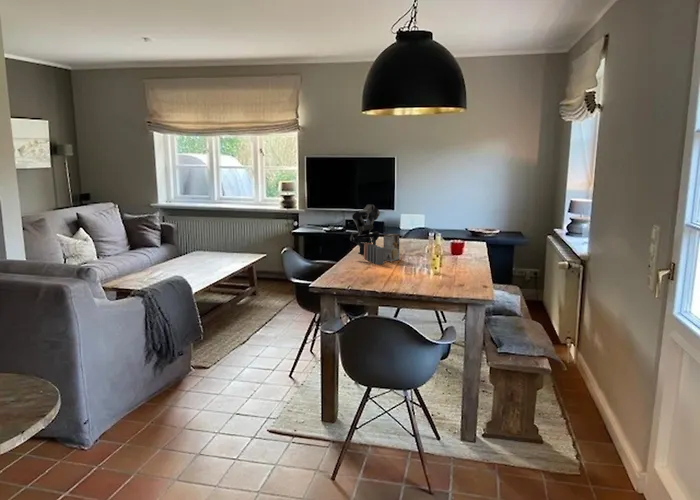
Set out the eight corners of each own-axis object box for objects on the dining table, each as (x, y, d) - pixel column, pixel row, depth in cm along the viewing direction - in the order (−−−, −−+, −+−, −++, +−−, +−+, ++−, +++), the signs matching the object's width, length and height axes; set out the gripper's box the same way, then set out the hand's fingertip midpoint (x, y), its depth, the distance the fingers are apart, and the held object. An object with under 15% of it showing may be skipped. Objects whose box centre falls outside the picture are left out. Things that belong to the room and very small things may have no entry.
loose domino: (363, 258, 342) (364, 243, 340) (370, 258, 344) (370, 243, 342) (365, 259, 340) (365, 243, 339) (371, 258, 342) (371, 243, 340)
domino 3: (372, 262, 330) (372, 246, 328) (379, 262, 331) (379, 246, 330) (373, 263, 328) (373, 247, 326) (380, 262, 330) (380, 246, 328)
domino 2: (369, 261, 334) (369, 245, 332) (376, 261, 335) (376, 245, 334) (370, 262, 332) (370, 246, 330) (377, 261, 334) (377, 245, 332)
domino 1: (366, 260, 338) (366, 244, 336) (373, 259, 340) (373, 244, 338) (367, 260, 336) (367, 244, 335) (374, 260, 338) (374, 244, 336)
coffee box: (391, 258, 344) (391, 233, 341) (399, 259, 340) (399, 234, 338) (383, 260, 337) (383, 235, 334) (391, 261, 333) (391, 236, 330)
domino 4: (375, 264, 326) (375, 247, 324) (382, 263, 327) (382, 247, 325) (376, 264, 324) (377, 248, 322) (383, 264, 326) (383, 247, 324)
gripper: (351, 220, 338) (358, 240, 330) (378, 219, 345) (385, 238, 337) (347, 231, 347) (353, 251, 339) (373, 229, 354) (380, 249, 345)
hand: (368, 247), depth 340 cm, fingers open, 9 cm apart
